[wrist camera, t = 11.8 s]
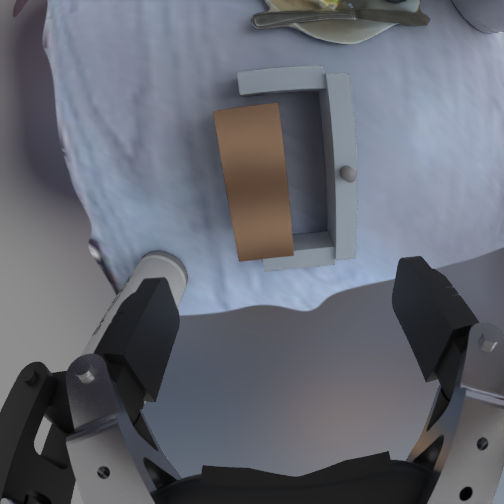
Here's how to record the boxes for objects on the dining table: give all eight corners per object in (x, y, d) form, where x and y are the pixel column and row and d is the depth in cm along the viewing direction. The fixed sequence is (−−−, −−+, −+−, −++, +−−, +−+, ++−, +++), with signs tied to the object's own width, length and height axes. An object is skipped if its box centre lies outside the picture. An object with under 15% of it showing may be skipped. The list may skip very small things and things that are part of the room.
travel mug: (193, 295, 34) (149, 448, 16) (144, 291, 34) (79, 427, 16) (188, 251, 31) (122, 412, 13) (135, 248, 31) (44, 386, 13)
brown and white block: (225, 111, 24) (212, 111, 17) (273, 105, 23) (278, 102, 17) (243, 227, 29) (238, 261, 23) (287, 222, 29) (293, 255, 23)
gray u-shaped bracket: (239, 77, 22) (234, 69, 17) (336, 71, 21) (353, 63, 16) (264, 254, 30) (264, 281, 26) (345, 246, 30) (358, 271, 25)
